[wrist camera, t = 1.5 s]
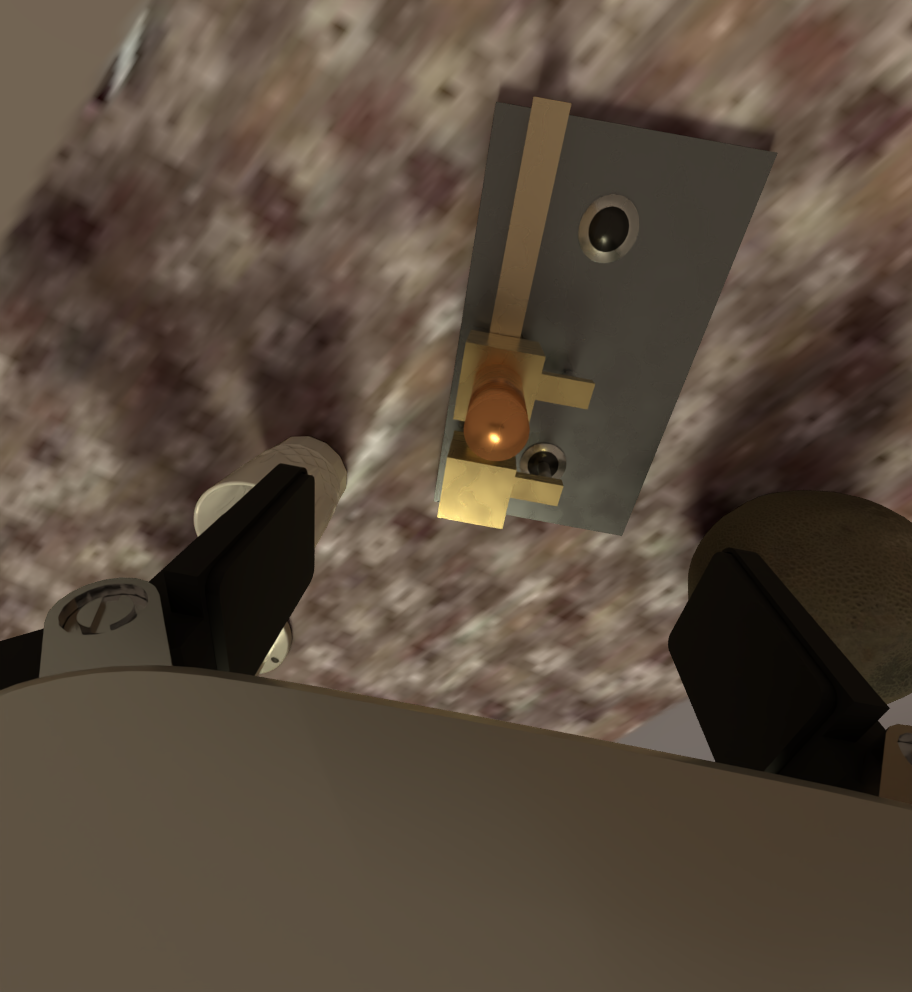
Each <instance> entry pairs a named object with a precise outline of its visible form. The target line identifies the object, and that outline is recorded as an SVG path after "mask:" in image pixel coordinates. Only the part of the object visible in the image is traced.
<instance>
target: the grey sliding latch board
mask: <svg viewBox="0 0 912 992" xmlns="http://www.w3.org/2000/svg"><path fill="white" fill-rule="evenodd" d="M570 108H571V103H567V102H561V101H556V100H550V99H545V98H539V97H533V102H532V107H531V108H528V107H522V106H517V105H511V104H506V103H500V102H496V106H495V113H494V119H493V126H492V132H491V138H490V145H489V151H488V158H487V164H486V170H485V177H484V183H483V190H482V196H481V202H480V209H479V215H478V221H477V228H476V234H475V241H474V247H473V253H472V260H471V266H470V273H469V279H468V285H467V292H466V298H465V305H464V311H463V317H462V324H461V330H460V337H459V343H458V349H457V356H456V362H455V369H454V375H453V381H452V388H451V394H450V401H449V407H448V413H447V420H446V426H445V432H444V439H443V445H442V452H441V458H440V464H439V471H438V477H437V484H436V490H435V496H434V501H435V502H440V504H439V510H438V516H437V517H440V518H445V519H451V520H456V521H461V522H467V523H472V524H478V525H483V526H488V527H494V528H499V529H502V527H503V523H504V519H505V515H511V516H517V517H522V518H528V519H533V520H539V521H544V522H549V523H555V524H560V525H566V526H571V527H576V528H582V529H587V530H593V531H598V532H604V533H609V534H614V535H620V536H622V534H623V532H624V530H625V527H626V525H627V522H628V520H629V517H630V515H631V512H632V510H633V507H634V505H635V502H636V500H637V498H638V495H639V493H640V490H641V488H642V485H643V483H644V480H645V478H646V475H647V473H648V471H649V468H650V466H651V463H652V461H653V458H654V456H655V453H656V451H657V448H658V446H659V443H660V441H661V439H662V436H663V434H664V431H665V429H666V426H667V424H668V421H669V419H670V416H671V414H672V411H673V409H674V407H675V404H676V402H677V399H678V397H679V394H680V392H681V389H682V387H683V384H684V382H685V379H686V377H687V375H688V372H689V370H690V367H691V365H692V362H693V360H694V357H695V355H696V352H697V350H698V347H699V345H700V343H701V340H702V338H703V335H704V333H705V330H706V328H707V325H708V323H709V320H710V318H711V315H712V313H713V311H714V308H715V306H716V303H717V301H718V298H719V296H720V293H721V291H722V288H723V286H724V283H725V281H726V279H727V276H728V274H729V271H730V269H731V266H732V264H733V261H734V259H735V256H736V254H737V252H738V249H739V247H740V244H741V242H742V239H743V237H744V234H745V232H746V229H747V227H748V224H749V222H750V220H751V217H752V215H753V212H754V210H755V207H756V205H757V202H758V200H759V197H760V195H761V192H762V190H763V188H764V185H765V183H766V180H767V178H768V175H769V173H770V170H771V168H772V165H773V163H774V160H775V158H776V156H777V153H776V152H770V151H765V150H759V149H754V148H748V147H743V146H737V145H732V144H726V143H721V142H715V141H710V140H704V139H699V138H693V137H688V136H682V135H677V134H671V133H666V132H660V131H655V130H649V129H644V128H638V127H633V126H627V125H622V124H616V123H611V122H605V121H599V120H594V119H588V118H583V117H577V116H572V115H569V112H570ZM471 330H476V331H481V332H487V333H492V334H498V335H503V336H509V337H514V338H520V339H525V340H531V341H536V342H539V344H540V346H541V348H542V350H543V352H544V354H545V356H546V358H545V362H544V366H543V370H542V371H546V372H551V373H557V374H562V375H563V374H564V373H565V372H567V371H572V372H573V373H574V374H575V376H576V377H578V378H584V379H589V380H593V382H594V383H595V387H594V390H593V393H592V396H591V399H590V403H589V406H588V409H582V408H577V407H571V406H566V405H560V404H555V403H549V402H544V401H539V400H535V402H534V406H533V410H532V414H531V418H530V422H529V426H530V433H529V438H528V441H527V443H526V445H525V446H524V448H523V449H522V450H521V451H520V452H519V453H518V454H517V455H515V456H514V457H512V458H510V459H507V460H503V461H489V460H486V459H483V458H481V457H479V456H477V455H476V454H475V453H474V452H473V451H472V450H471V449H470V448H469V446H468V445H467V443H466V440H465V437H464V424H465V421H460V420H455V419H453V417H454V411H455V405H456V399H457V393H458V386H459V380H460V374H461V368H462V362H463V356H464V350H465V344H466V340H467V338H468V336H469V333H470V331H471Z"/></svg>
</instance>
